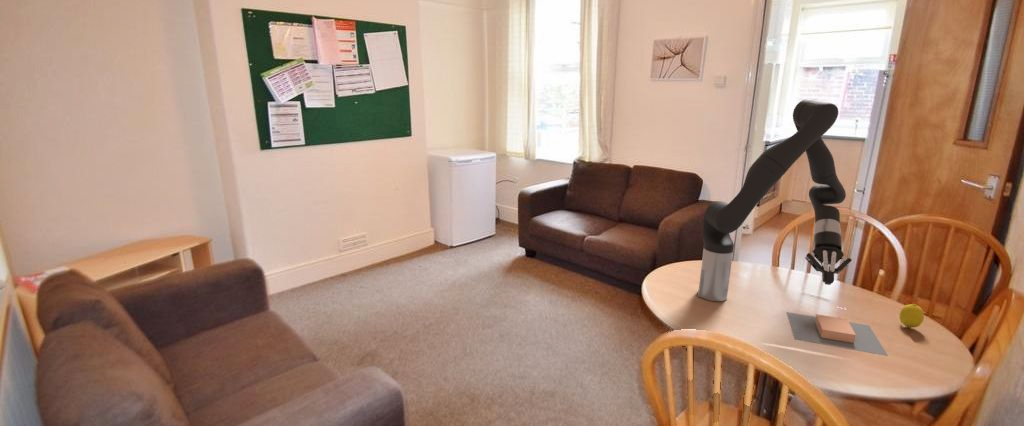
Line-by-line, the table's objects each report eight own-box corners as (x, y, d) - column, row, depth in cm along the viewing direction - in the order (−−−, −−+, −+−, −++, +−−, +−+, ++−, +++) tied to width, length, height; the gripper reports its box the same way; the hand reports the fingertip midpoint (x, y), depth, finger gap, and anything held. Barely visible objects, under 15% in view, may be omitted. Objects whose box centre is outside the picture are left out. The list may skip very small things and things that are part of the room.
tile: (814, 322, 145) (820, 338, 136) (816, 314, 144) (822, 329, 136) (845, 327, 142) (853, 343, 133) (847, 319, 141) (855, 334, 133)
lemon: (914, 334, 140) (921, 309, 137) (893, 326, 144) (899, 302, 142) (924, 330, 142) (930, 305, 140) (902, 322, 147) (908, 298, 145)
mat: (794, 341, 136) (794, 339, 136) (786, 313, 152) (786, 312, 152) (887, 357, 128) (888, 355, 128) (868, 327, 144) (869, 325, 144)
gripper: (807, 227, 157) (807, 275, 149) (854, 232, 152) (857, 282, 144) (802, 238, 163) (801, 284, 155) (847, 243, 158) (849, 291, 150)
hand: (828, 283), depth 150 cm, fingers closed
